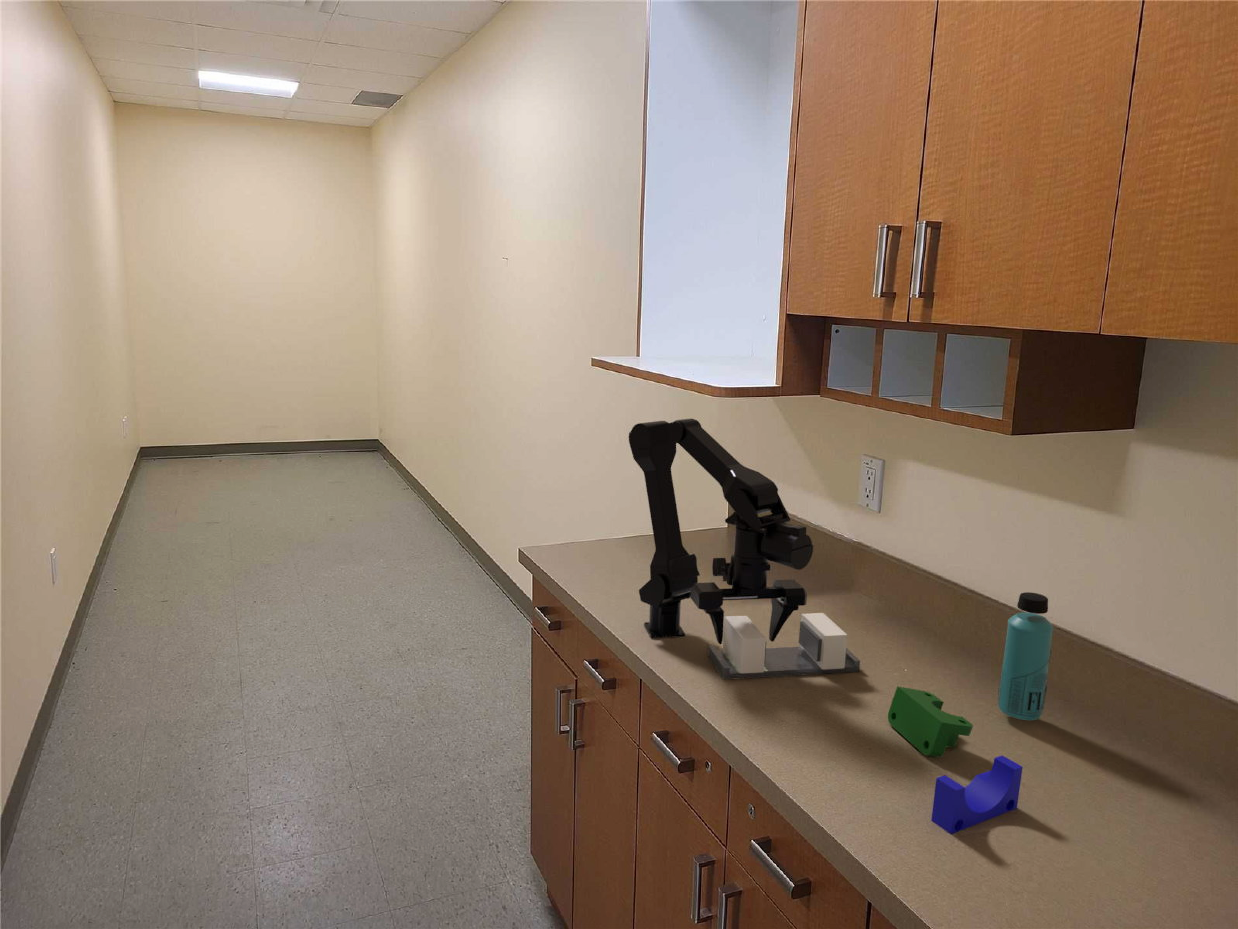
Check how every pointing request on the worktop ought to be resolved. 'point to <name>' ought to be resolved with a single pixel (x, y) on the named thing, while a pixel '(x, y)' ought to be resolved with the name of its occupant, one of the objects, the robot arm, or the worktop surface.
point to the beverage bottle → (1026, 659)
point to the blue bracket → (977, 796)
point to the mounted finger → (823, 641)
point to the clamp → (925, 721)
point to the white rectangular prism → (744, 644)
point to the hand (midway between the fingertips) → (745, 642)
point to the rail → (779, 663)
